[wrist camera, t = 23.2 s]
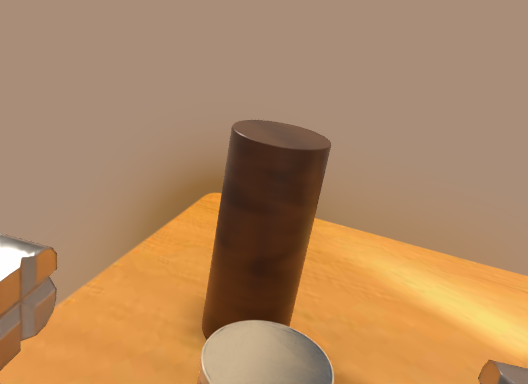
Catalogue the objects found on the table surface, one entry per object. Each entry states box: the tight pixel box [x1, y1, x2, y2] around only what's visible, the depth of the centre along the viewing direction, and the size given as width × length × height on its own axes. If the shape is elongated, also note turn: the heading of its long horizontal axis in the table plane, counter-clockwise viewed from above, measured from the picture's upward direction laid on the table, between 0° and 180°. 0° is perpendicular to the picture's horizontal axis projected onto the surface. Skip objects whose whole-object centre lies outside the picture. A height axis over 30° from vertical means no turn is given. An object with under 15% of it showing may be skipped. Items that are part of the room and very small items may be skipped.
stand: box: [202, 120, 331, 339], centre depth 40 cm, size 8×8×18 cm
